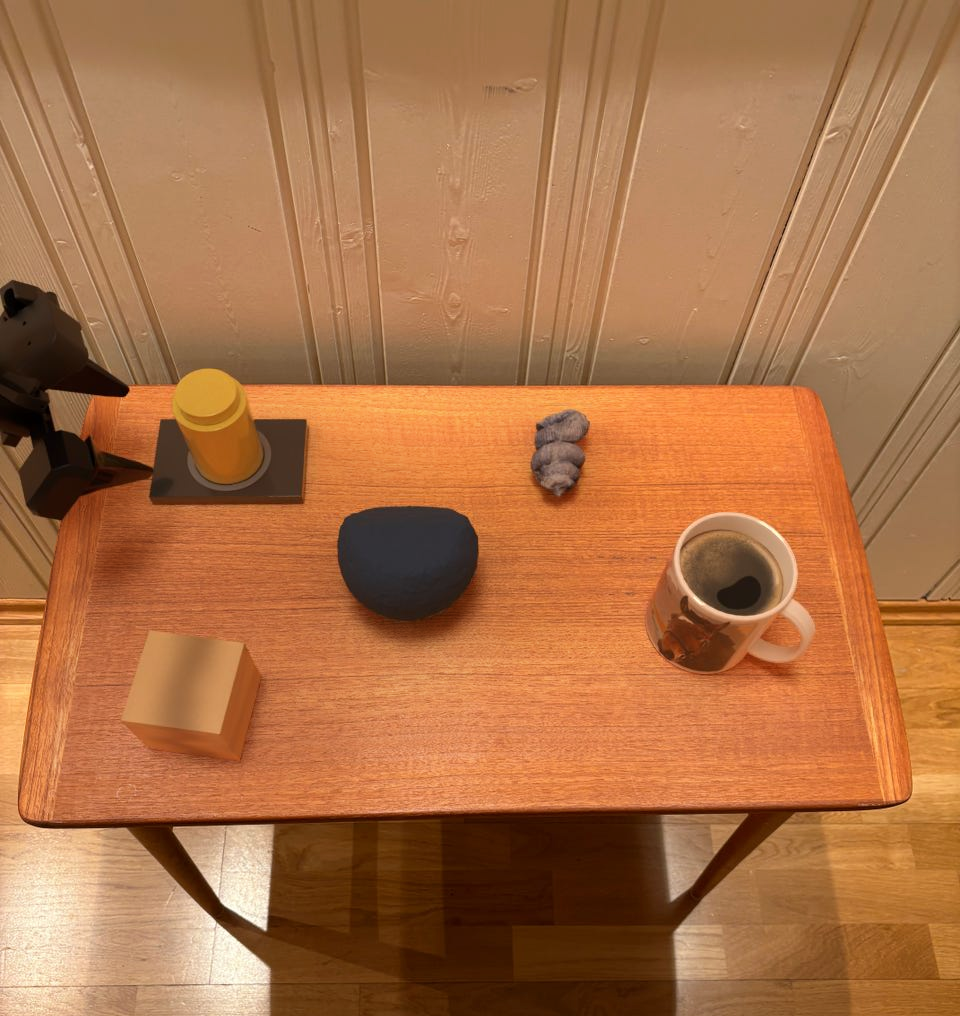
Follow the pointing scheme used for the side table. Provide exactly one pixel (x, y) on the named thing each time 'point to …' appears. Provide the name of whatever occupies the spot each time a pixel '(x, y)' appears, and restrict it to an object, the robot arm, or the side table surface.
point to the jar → (217, 426)
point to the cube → (192, 695)
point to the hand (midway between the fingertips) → (139, 431)
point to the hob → (267, 485)
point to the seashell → (559, 451)
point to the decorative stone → (407, 559)
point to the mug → (726, 596)
